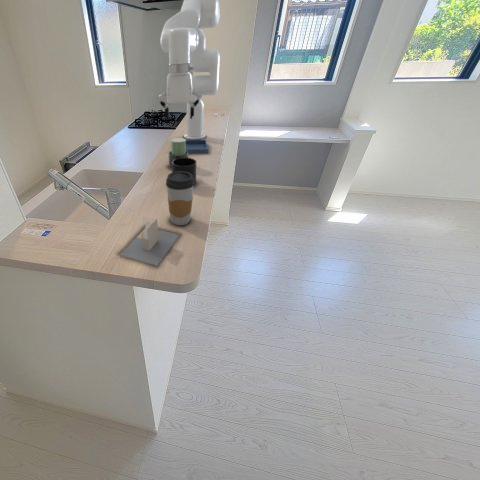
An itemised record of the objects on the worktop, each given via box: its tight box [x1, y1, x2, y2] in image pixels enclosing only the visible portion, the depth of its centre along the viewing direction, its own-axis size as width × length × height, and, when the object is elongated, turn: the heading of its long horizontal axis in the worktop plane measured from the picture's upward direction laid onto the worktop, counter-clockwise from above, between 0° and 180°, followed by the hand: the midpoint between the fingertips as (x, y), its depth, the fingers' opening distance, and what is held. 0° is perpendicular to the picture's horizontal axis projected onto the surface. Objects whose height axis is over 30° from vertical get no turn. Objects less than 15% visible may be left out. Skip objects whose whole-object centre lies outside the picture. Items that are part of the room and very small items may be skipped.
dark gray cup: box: [168, 150, 189, 170], centre depth 121 cm, size 9×9×6 cm
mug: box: [171, 157, 197, 186], centre depth 106 cm, size 9×12×9 cm
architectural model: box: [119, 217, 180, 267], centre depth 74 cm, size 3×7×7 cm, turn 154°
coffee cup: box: [165, 171, 195, 226], centre depth 81 cm, size 8×8×15 cm
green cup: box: [170, 137, 187, 156], centre depth 119 cm, size 6×6×12 cm
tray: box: [186, 139, 209, 155], centre depth 141 cm, size 16×14×2 cm
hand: (179, 118), depth 110 cm, fingers open, 9 cm apart
